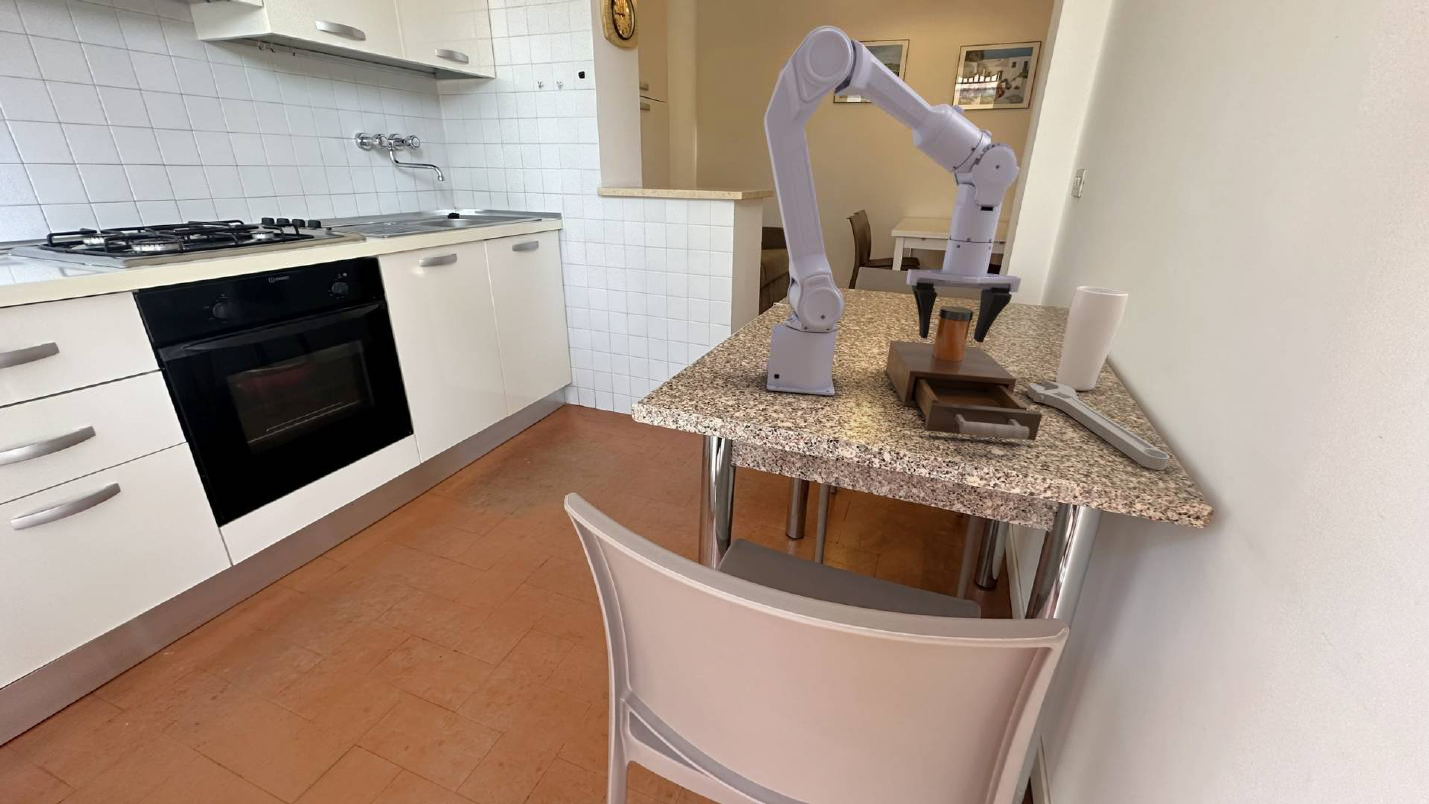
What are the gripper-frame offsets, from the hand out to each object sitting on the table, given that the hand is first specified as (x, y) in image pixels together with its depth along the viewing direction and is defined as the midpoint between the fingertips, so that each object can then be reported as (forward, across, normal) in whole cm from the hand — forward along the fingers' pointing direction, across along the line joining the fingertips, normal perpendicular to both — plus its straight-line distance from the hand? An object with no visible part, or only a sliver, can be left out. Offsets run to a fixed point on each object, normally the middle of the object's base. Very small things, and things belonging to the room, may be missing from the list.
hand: (950, 338), depth 82 cm
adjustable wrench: (+8, +16, -9) cm, 20 cm away
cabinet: (+8, 0, 0) cm, 8 cm away
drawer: (+7, 0, -13) cm, 15 cm away
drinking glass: (+8, +22, +7) cm, 24 cm away
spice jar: (+3, 0, 0) cm, 3 cm away
